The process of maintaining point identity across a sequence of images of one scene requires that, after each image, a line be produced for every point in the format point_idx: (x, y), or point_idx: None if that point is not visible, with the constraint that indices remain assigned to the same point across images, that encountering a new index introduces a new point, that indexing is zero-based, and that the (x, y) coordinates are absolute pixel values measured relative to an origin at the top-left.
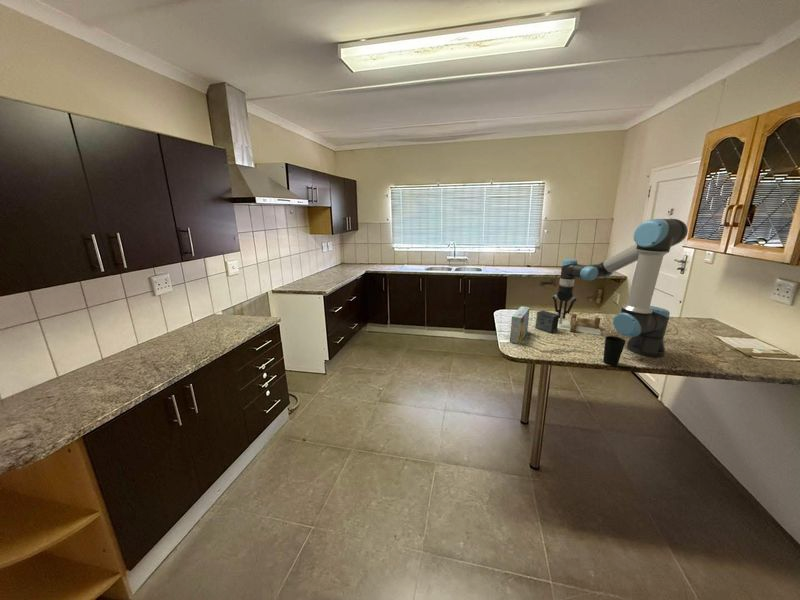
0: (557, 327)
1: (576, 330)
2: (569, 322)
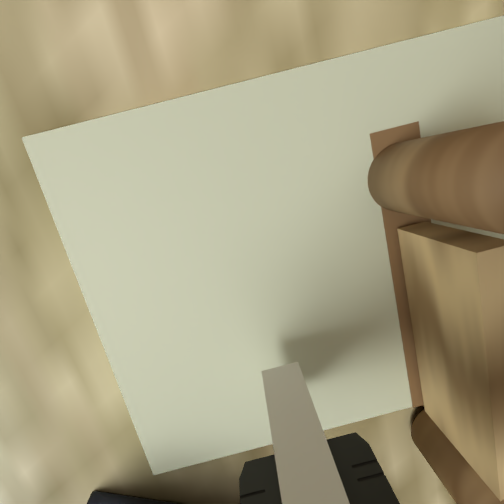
0: (266, 424)
1: None
2: (348, 103)
